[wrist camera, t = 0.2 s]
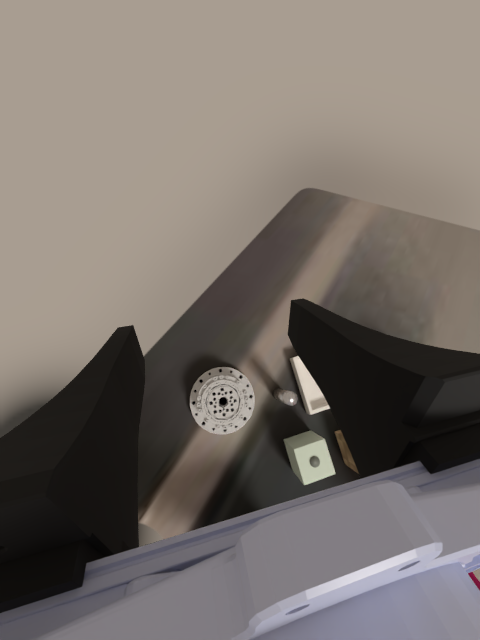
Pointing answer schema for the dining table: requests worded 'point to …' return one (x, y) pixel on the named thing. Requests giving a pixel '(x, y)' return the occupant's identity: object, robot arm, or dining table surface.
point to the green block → (309, 457)
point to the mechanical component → (224, 417)
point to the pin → (285, 396)
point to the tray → (308, 388)
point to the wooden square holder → (345, 451)
